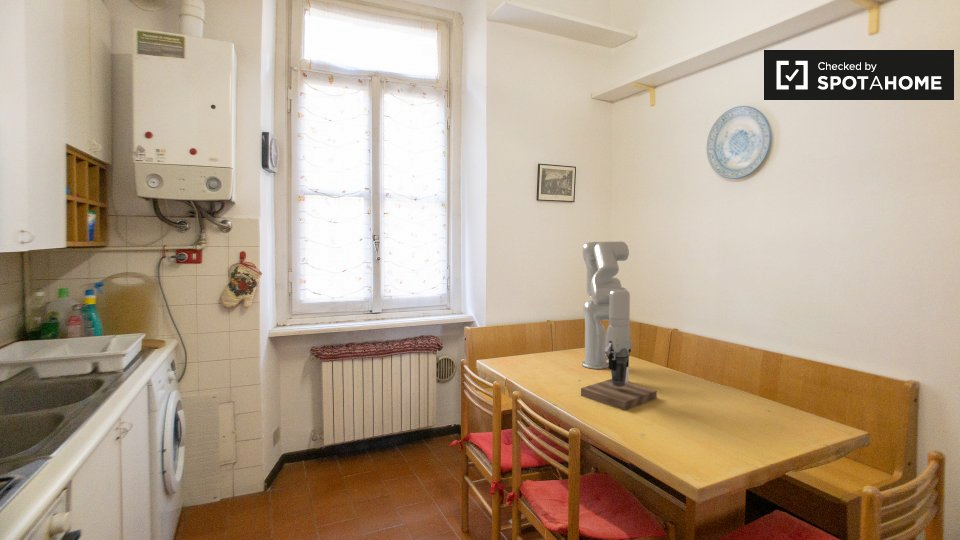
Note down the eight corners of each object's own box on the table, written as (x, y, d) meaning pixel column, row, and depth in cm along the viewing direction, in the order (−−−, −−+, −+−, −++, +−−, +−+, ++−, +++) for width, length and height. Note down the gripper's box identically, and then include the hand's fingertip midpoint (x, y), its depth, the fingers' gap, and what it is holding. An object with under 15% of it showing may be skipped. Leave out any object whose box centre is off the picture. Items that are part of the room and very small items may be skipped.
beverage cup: (626, 382, 181) (626, 331, 180) (630, 388, 174) (631, 335, 173) (607, 381, 182) (607, 331, 181) (610, 387, 175) (611, 335, 173)
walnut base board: (613, 385, 192) (613, 378, 192) (656, 398, 176) (656, 390, 176) (581, 395, 180) (581, 388, 180) (624, 410, 164) (624, 402, 164)
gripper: (624, 318, 185) (624, 362, 186) (596, 323, 174) (596, 369, 175) (641, 320, 179) (640, 366, 180) (613, 326, 168) (612, 374, 169)
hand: (618, 367), depth 178 cm, fingers closed on beverage cup, 6 cm apart
